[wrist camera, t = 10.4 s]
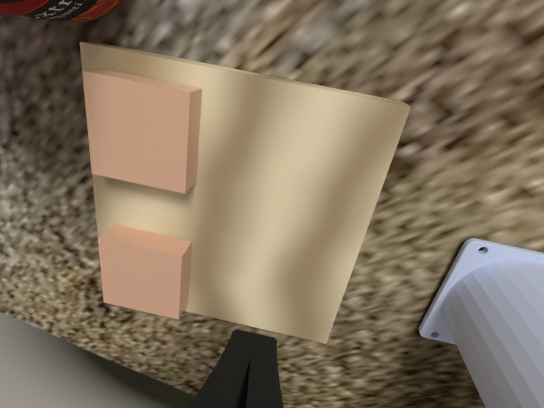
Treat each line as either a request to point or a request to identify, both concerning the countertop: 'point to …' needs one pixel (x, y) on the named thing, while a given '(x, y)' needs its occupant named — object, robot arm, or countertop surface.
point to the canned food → (58, 9)
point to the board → (262, 190)
